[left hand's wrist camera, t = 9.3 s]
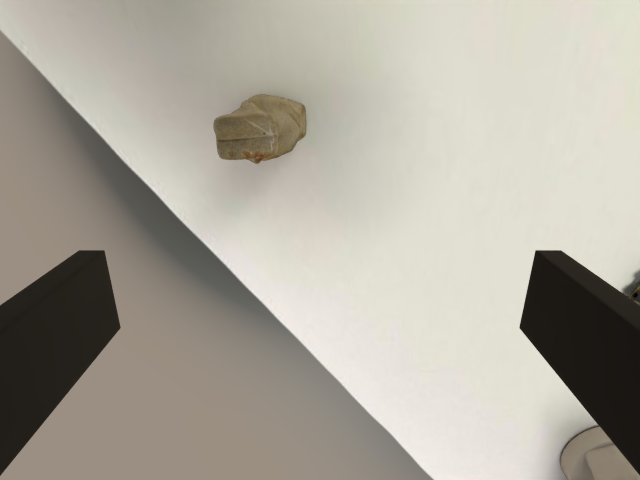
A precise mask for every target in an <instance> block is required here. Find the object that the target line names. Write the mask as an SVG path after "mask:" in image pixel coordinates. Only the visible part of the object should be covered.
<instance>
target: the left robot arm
mask: <svg viewBox="0 0 640 480" xmlns="http://www.w3.org/2000/svg"><path fill="white" fill-rule="evenodd" d="M119 329H120V323H119V318H118V313H117V309H116V304H115V299H114V294H113V290H112V285H111V280H110V275H109V271H108V266H107V261H106V256H105V251H78V252H76V253H75V254H74V255H72V256H71V257H69V258H68V259H66V260H65V261H63V262H62V263H61V264H59V265H58V266H56V267H55V268H53V269H52V270H50V271H49V272H48V273H46V274H45V275H43V276H42V277H40V278H39V279H38V280H36V281H35V282H33V283H32V284H30V285H29V286H27V287H26V288H25V289H23V290H22V291H20V292H19V293H17V294H16V295H15V296H13V297H12V298H10V299H9V300H7V301H6V302H5V303H3V304H2V305H0V475H1V474H2V473H3V472H4V470H5V469H6V468H7V467H8V465H9V464H10V463H11V462H12V461H13V459H14V458H15V457H16V456H17V454H18V453H19V452H20V451H21V449H22V448H23V447H24V446H25V445H26V443H27V442H28V441H29V440H30V438H31V437H32V436H33V435H34V433H35V432H36V431H37V430H38V429H39V427H40V426H41V425H42V424H43V422H44V421H45V420H46V419H47V417H48V416H49V415H50V414H51V413H52V411H53V410H54V409H55V408H56V406H57V405H58V404H59V403H60V402H61V400H62V399H63V398H64V397H65V395H66V394H67V393H68V392H69V390H70V389H71V388H72V387H73V386H74V384H75V383H76V382H77V381H78V379H79V378H80V377H81V376H82V375H83V373H84V372H85V371H86V370H87V368H88V367H89V366H90V365H91V363H92V362H93V361H94V360H95V359H96V357H97V356H98V355H99V354H100V352H101V351H102V350H103V349H104V347H105V346H106V345H107V344H108V343H109V341H110V340H111V339H112V338H113V336H114V335H115V334H116V333H117V332H118V330H119ZM520 329H521V330H522V332H523V333H524V334H525V335H526V336H527V338H528V339H529V340H530V341H531V343H532V344H533V345H534V346H535V348H536V349H537V350H538V351H539V352H540V354H541V355H542V356H543V357H544V359H545V360H546V361H547V362H548V363H549V365H550V366H551V367H552V368H553V370H554V371H555V372H556V373H557V375H558V376H559V377H560V378H561V379H562V381H563V382H564V383H565V384H566V386H567V387H568V388H569V389H570V391H571V392H572V393H573V394H574V395H575V397H576V398H577V399H578V400H579V402H580V403H581V404H582V405H583V406H584V408H585V409H586V410H587V411H588V413H589V414H590V415H591V416H592V418H593V419H594V420H595V421H596V422H597V424H598V425H599V426H600V427H601V429H602V430H603V431H604V432H605V434H606V435H607V436H608V437H609V438H610V440H611V441H612V442H613V443H614V445H615V446H616V447H617V448H618V449H619V451H620V452H621V453H622V454H623V456H624V457H625V458H626V459H627V461H628V462H629V463H630V464H631V465H632V467H633V468H634V469H635V470H636V472H637V473H638V474H639V475H640V305H638V304H637V303H635V302H634V301H633V300H631V299H630V298H628V297H627V296H625V295H624V294H623V293H621V292H620V291H618V290H617V289H615V288H614V287H613V286H611V285H610V284H608V283H607V282H605V281H604V280H602V279H601V278H600V277H598V276H597V275H595V274H594V273H592V272H591V271H590V270H588V269H587V268H585V267H584V266H582V265H581V264H580V263H578V262H577V261H575V260H574V259H572V258H571V257H569V256H568V255H567V254H565V253H564V252H562V251H535V256H534V261H533V266H532V270H531V275H530V280H529V285H528V290H527V294H526V299H525V304H524V309H523V313H522V318H521V323H520Z"/></svg>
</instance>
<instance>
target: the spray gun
mask: <svg viewBox="0 0 640 480" xmlns="http://www.w3.org/2000/svg"><path fill="white" fill-rule="evenodd" d="M629 298H630V299H631V300H632V299H633V300H634V302H635V303H637V304H638V305H640V285H639V286H638V288H637V289H636V290H635V291H634V292H633V293H632V294H631V295H630V297H629Z"/></svg>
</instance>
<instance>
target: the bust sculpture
mask: <svg viewBox="0 0 640 480" xmlns="http://www.w3.org/2000/svg"><path fill="white" fill-rule="evenodd" d="M561 468H562V470H563V472H564V474H565V475H566V477H567V478H568V480H640V475H639V474H638V473H637V472H636V470H635V469H634V468H633V467H632V465H631V464H630V463H629V462H628V461H627V459H626V458H625V457H624V456H623V454H622V453H621V452H620V451H619V449H618V448H617V447H616V446H615V445H614V443H613V442H612V441H611V440H610V438H609V437H608V436H607V435H606V434H605V432H604V431H603V430H602V429H601V427H600V426H599V427H595V428H592V429H589V430H587V431H585V432H583V433H581V434H580V435H578V436H577V437H575V438H574V439H573V440H572V441H571V442H570V443H569V444H568V445H567V446H566V448H565V449H564V451H563V453H562V456H561Z"/></svg>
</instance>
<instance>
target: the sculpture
mask: <svg viewBox="0 0 640 480" xmlns="http://www.w3.org/2000/svg"><path fill="white" fill-rule="evenodd" d="M214 131H215V134H216V139H217V151H218V154H219V157H220V158H222V159H227V160H237V159H247V160H250V161H252V162H253V163H255V164H258V163H260V161H265V160H269V159H273V158H277V157H279V156H281V155H283V154H286V153H288V152H290V151H292V150H293V148H294V147H295V145H296V143H297V141H299V140H301V139H302V138H303V137H304V136H305V134H306V111H305V107H304V105H302V104H300V103H298V102H295V101H292V100H287V99H284V98H280V97H274V96H268V95H262V94H261V95H256V96H253V97H251V98H249V100H247V101H244V102H243V103H242V104H241V107H240V108H239V109H238V110H236V111H234V112H233V113H231V114H229V115H224V116H220V117H218V118H216V119H215V121H214Z"/></svg>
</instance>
